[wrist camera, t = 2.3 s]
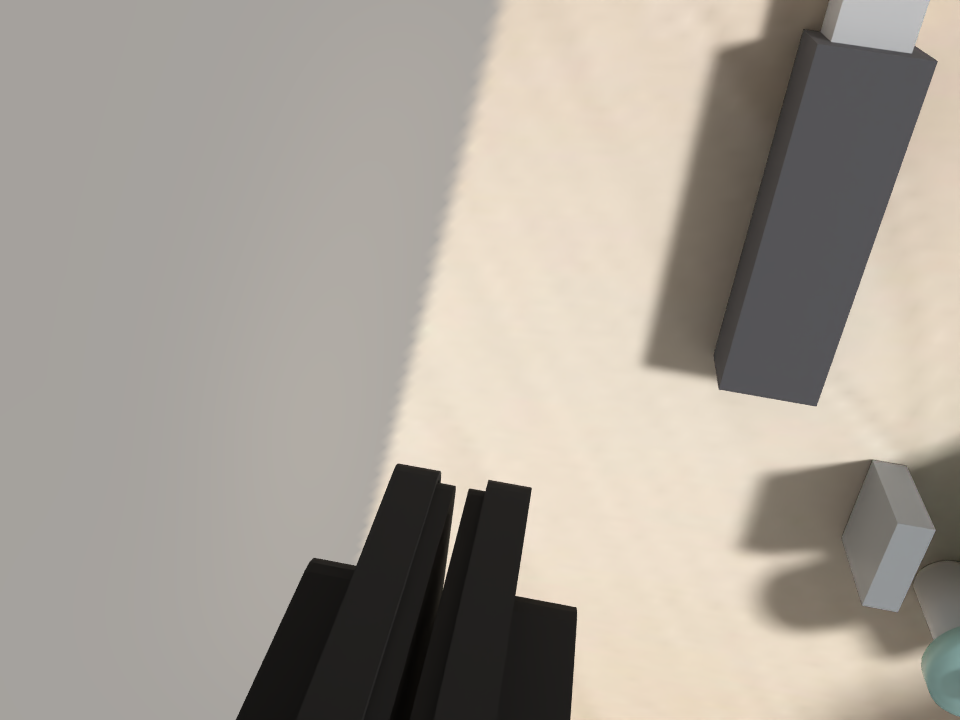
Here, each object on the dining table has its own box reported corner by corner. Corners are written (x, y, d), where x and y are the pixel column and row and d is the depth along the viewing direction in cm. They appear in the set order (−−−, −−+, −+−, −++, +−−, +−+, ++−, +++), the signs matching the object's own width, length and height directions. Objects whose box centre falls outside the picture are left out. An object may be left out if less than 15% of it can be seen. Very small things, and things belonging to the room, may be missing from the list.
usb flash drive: (817, -25, 21) (834, -15, 20) (931, -9, 21) (958, 3, 20) (713, 354, 26) (718, 389, 25) (804, 370, 26) (816, 406, 25)
